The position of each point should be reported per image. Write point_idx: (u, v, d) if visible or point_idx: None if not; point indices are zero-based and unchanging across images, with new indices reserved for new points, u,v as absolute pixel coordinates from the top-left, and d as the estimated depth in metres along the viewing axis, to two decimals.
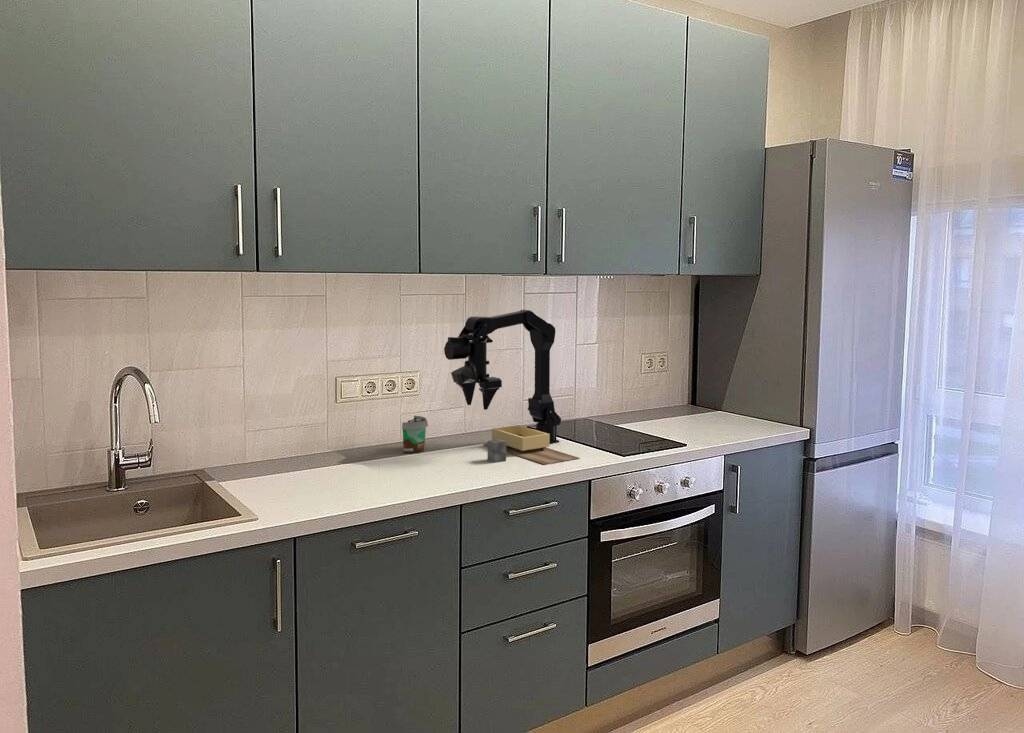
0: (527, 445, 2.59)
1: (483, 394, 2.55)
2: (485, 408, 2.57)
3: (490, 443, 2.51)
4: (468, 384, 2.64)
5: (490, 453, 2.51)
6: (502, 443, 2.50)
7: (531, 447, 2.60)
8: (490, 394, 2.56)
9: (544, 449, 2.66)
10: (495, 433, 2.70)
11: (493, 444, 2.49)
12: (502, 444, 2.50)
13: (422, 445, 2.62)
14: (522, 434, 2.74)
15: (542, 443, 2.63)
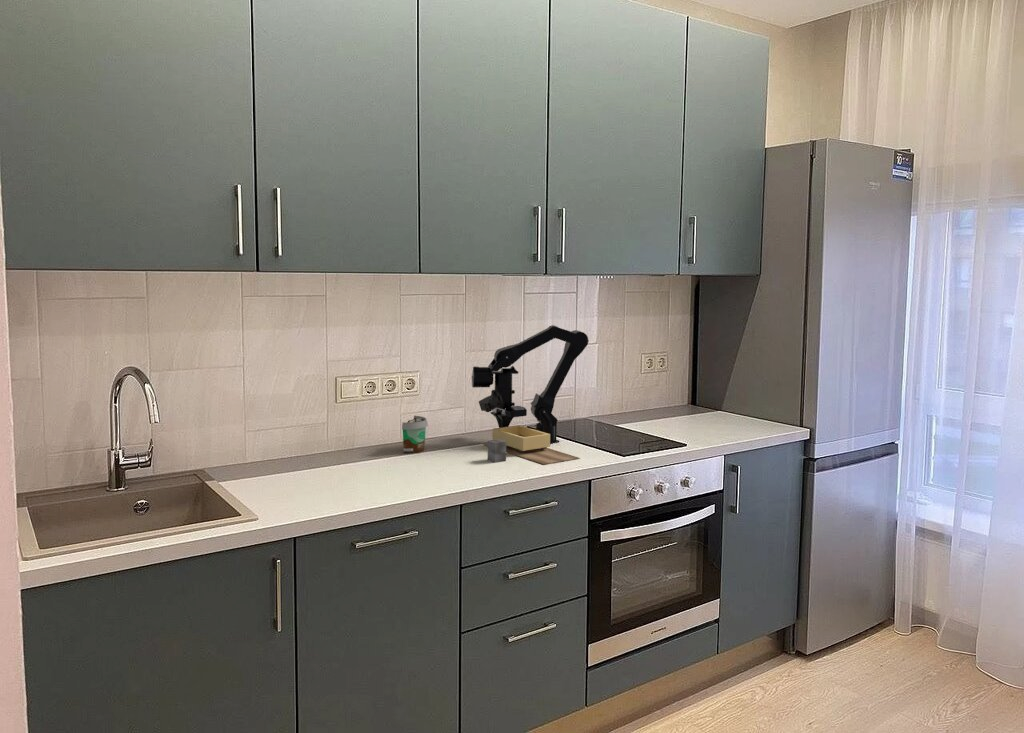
0: (528, 445, 2.59)
1: (501, 420, 2.73)
2: None
3: (490, 443, 2.51)
4: (502, 414, 2.75)
5: (490, 453, 2.51)
6: (502, 443, 2.50)
7: (532, 447, 2.60)
8: (507, 420, 2.74)
9: (544, 449, 2.66)
10: (495, 433, 2.69)
11: (493, 444, 2.49)
12: (502, 444, 2.50)
13: (422, 445, 2.62)
14: (523, 434, 2.74)
15: (543, 443, 2.62)
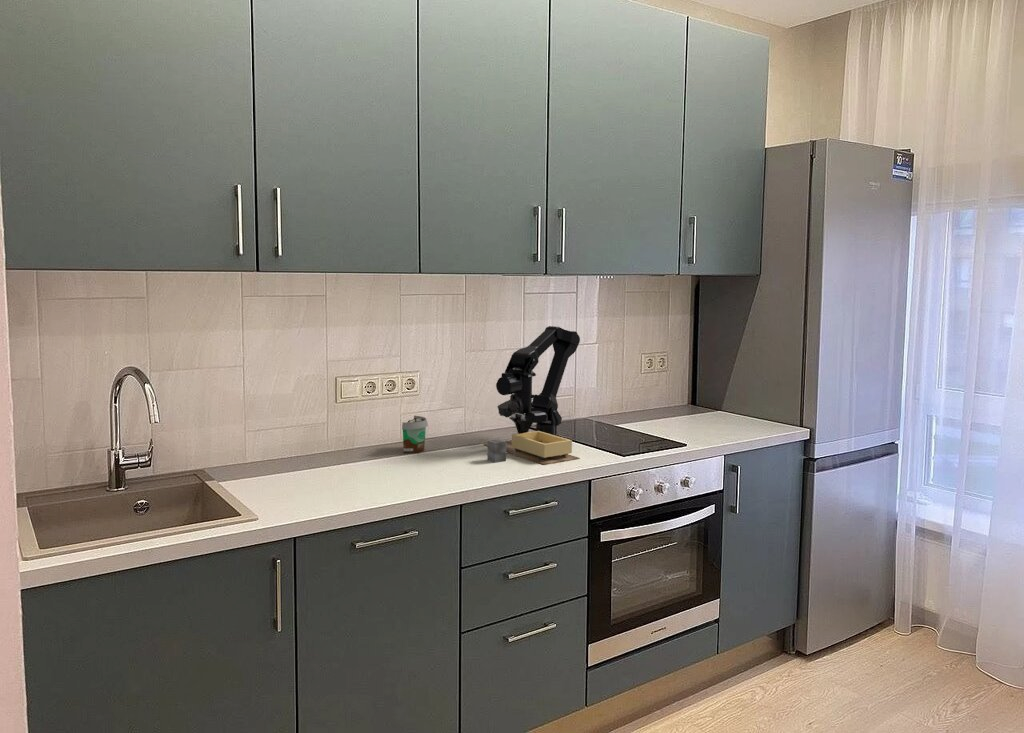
0: (549, 452, 2.51)
1: (520, 425, 2.65)
2: None
3: (490, 443, 2.51)
4: (521, 419, 2.67)
5: (490, 453, 2.51)
6: (502, 443, 2.50)
7: (553, 454, 2.52)
8: (527, 425, 2.66)
9: None
10: (515, 439, 2.61)
11: (493, 444, 2.49)
12: (502, 445, 2.50)
13: (422, 445, 2.62)
14: (542, 440, 2.66)
15: (564, 450, 2.54)
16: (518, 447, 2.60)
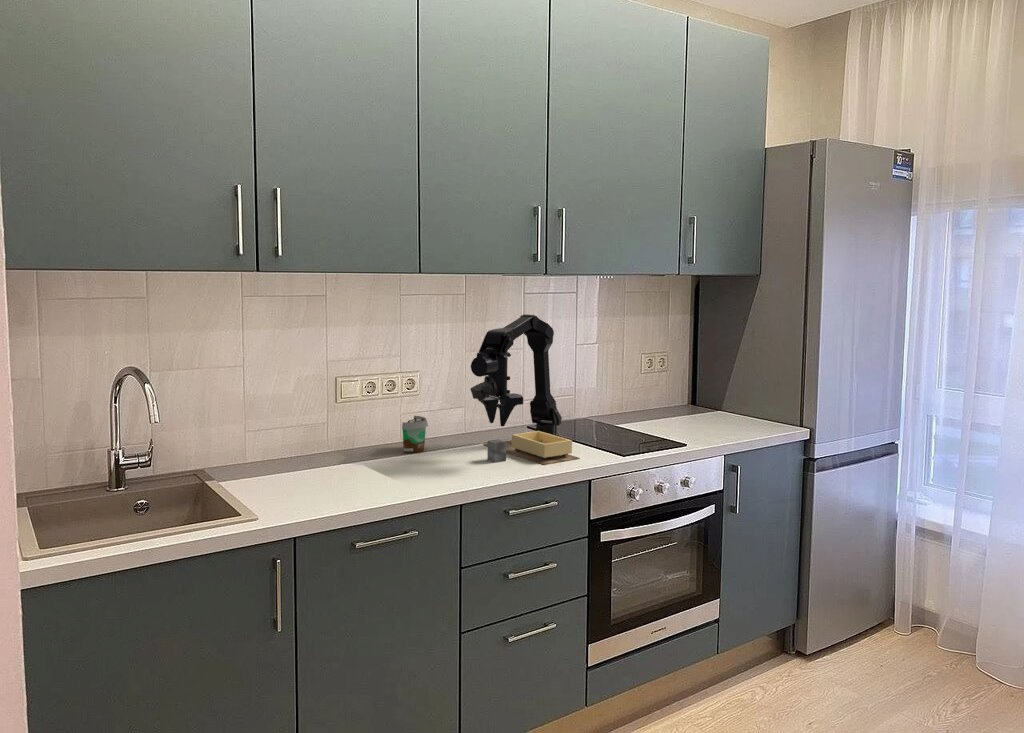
0: (549, 452, 2.51)
1: (500, 410, 2.46)
2: (502, 425, 2.48)
3: (490, 443, 2.51)
4: (491, 401, 2.52)
5: (490, 453, 2.51)
6: (502, 443, 2.50)
7: (553, 454, 2.52)
8: (507, 410, 2.47)
9: None
10: (515, 439, 2.61)
11: (493, 444, 2.49)
12: (502, 444, 2.50)
13: (422, 445, 2.62)
14: (543, 440, 2.66)
15: (564, 450, 2.54)
16: (518, 447, 2.60)
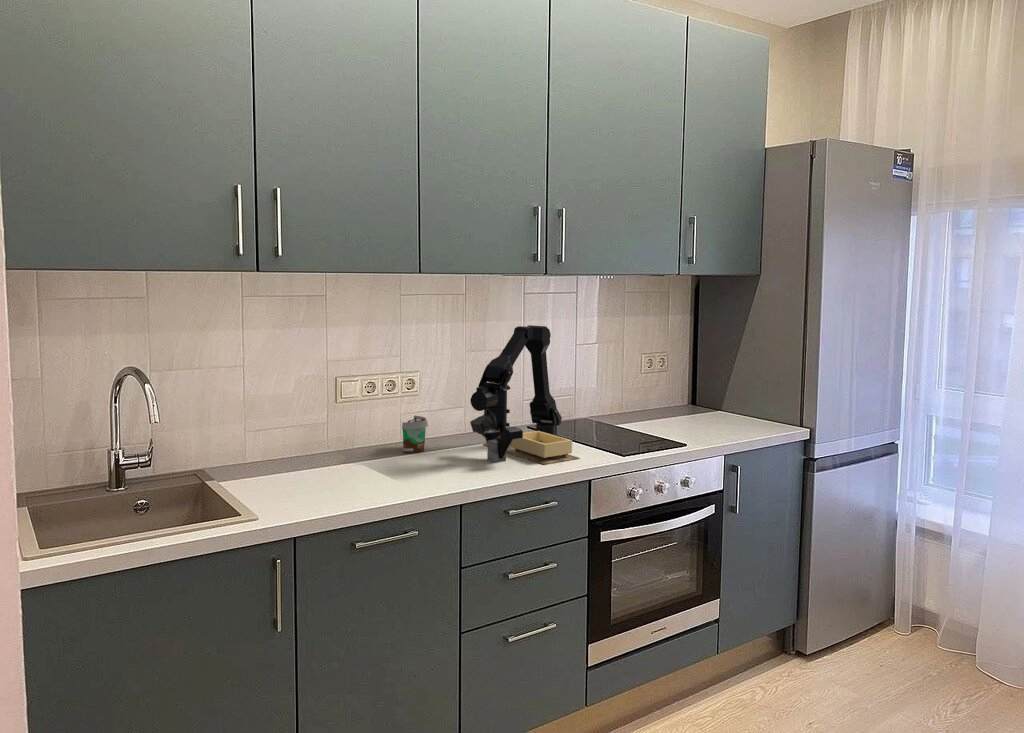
0: (549, 452, 2.51)
1: (498, 443, 2.48)
2: (500, 457, 2.50)
3: (490, 443, 2.51)
4: (492, 434, 2.53)
5: (490, 453, 2.51)
6: None
7: (553, 454, 2.52)
8: (506, 443, 2.49)
9: None
10: (515, 439, 2.61)
11: (493, 444, 2.49)
12: None
13: (422, 445, 2.62)
14: (543, 440, 2.66)
15: (564, 450, 2.54)
16: (518, 447, 2.60)
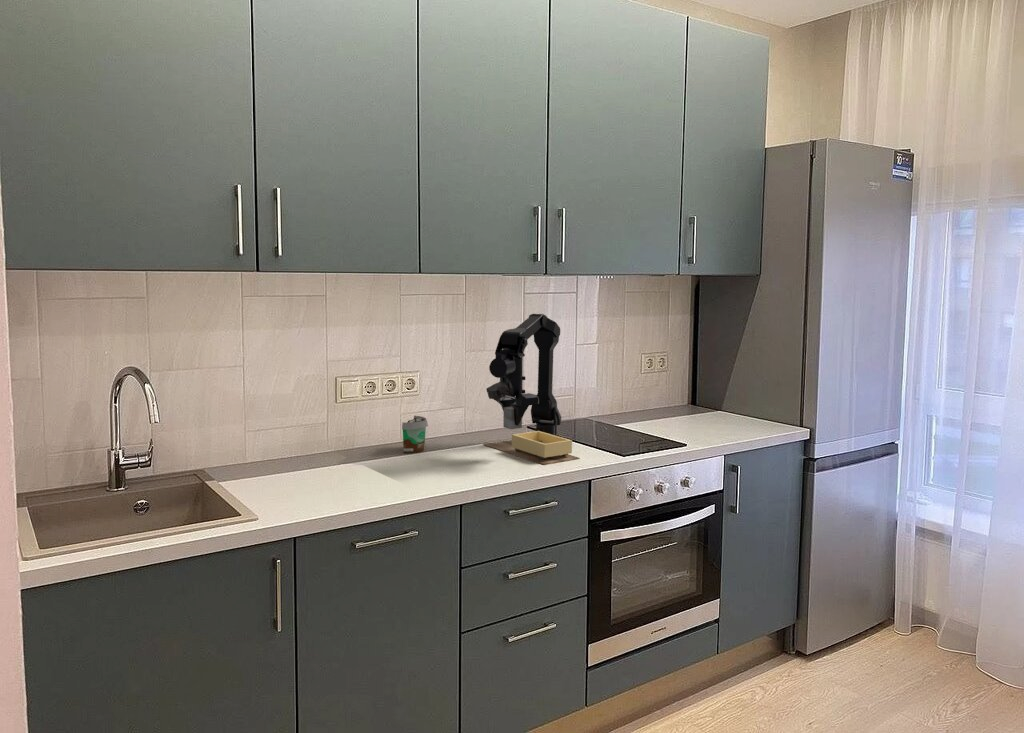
0: (549, 452, 2.51)
1: (515, 410, 2.49)
2: (516, 424, 2.51)
3: (506, 410, 2.52)
4: (508, 401, 2.55)
5: (506, 420, 2.52)
6: None
7: (553, 454, 2.52)
8: (522, 410, 2.50)
9: None
10: (515, 439, 2.61)
11: (509, 410, 2.51)
12: None
13: (422, 445, 2.62)
14: (543, 440, 2.66)
15: (564, 450, 2.54)
16: (518, 447, 2.60)
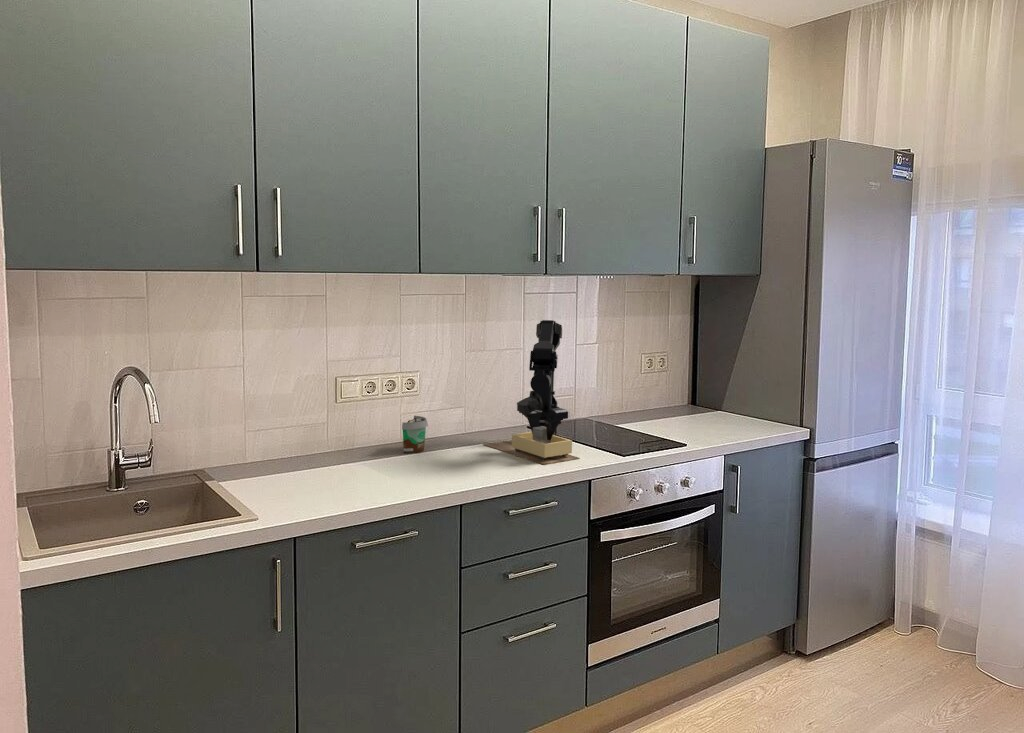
0: (550, 452, 2.51)
1: (547, 425, 2.54)
2: (548, 438, 2.55)
3: (535, 430, 2.58)
4: (534, 414, 2.61)
5: (535, 439, 2.58)
6: None
7: (553, 454, 2.52)
8: (554, 424, 2.55)
9: None
10: (515, 439, 2.61)
11: (539, 430, 2.56)
12: None
13: (422, 445, 2.62)
14: None
15: (564, 450, 2.54)
16: (518, 447, 2.60)
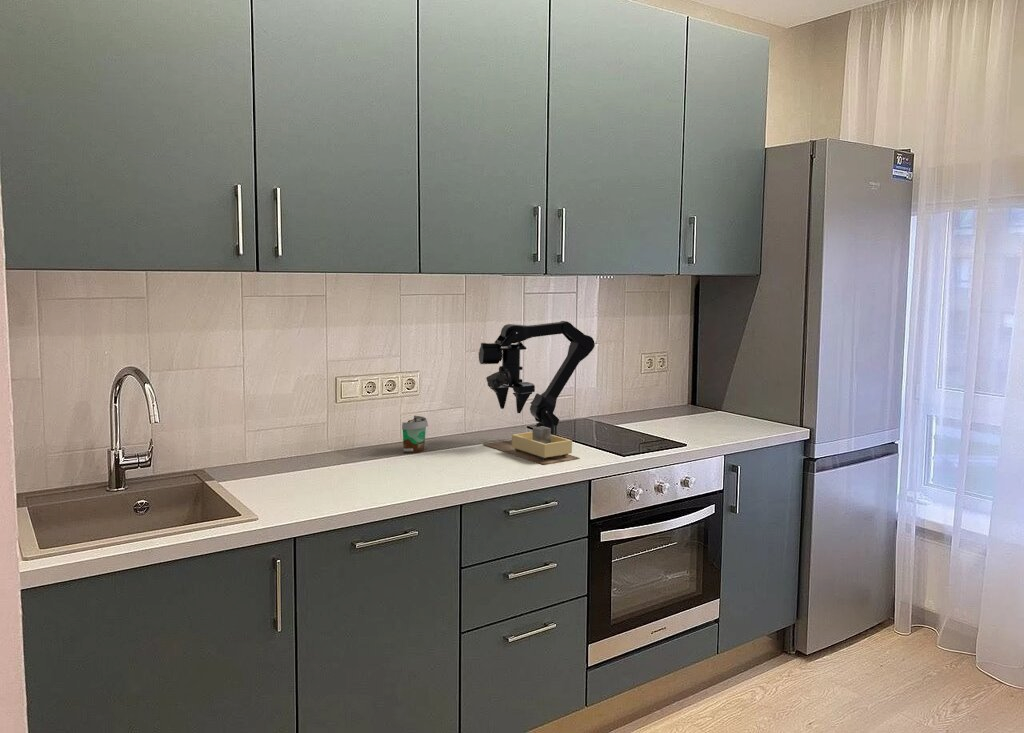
0: (550, 452, 2.51)
1: (517, 398, 2.67)
2: (518, 412, 2.69)
3: (535, 430, 2.58)
4: (501, 389, 2.76)
5: (535, 439, 2.58)
6: (547, 429, 2.57)
7: (553, 454, 2.52)
8: (523, 398, 2.68)
9: None
10: (515, 439, 2.61)
11: (539, 430, 2.56)
12: (547, 431, 2.57)
13: (422, 445, 2.62)
14: None
15: (564, 450, 2.54)
16: (518, 447, 2.60)
